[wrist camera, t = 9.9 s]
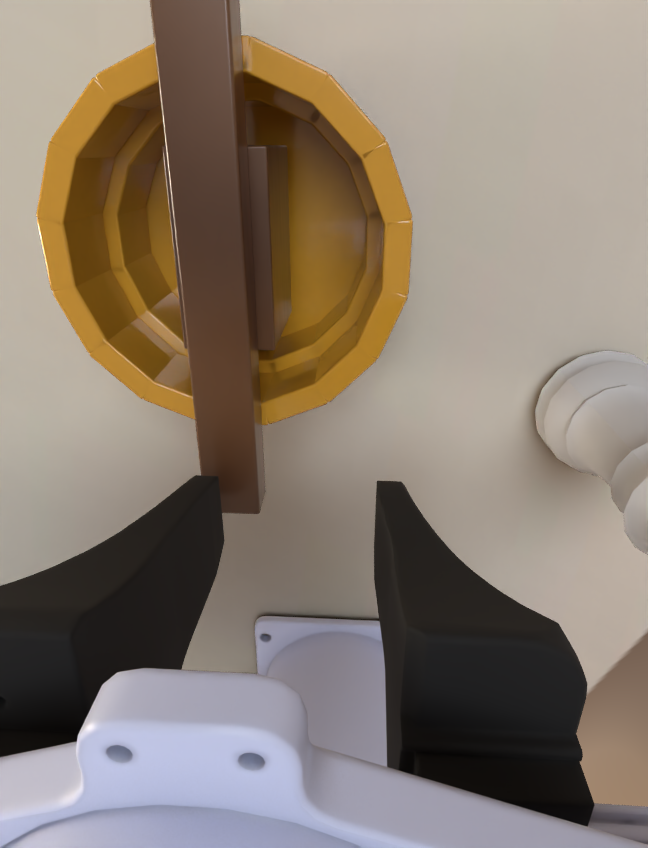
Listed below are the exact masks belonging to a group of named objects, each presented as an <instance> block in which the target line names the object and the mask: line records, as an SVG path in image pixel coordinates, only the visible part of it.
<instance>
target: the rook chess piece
mask: <svg viewBox="0 0 648 848" xmlns="http://www.w3.org/2000/svg"><path fill="white" fill-rule="evenodd" d="M535 415H536V424H537V432H538V433H539V435H540V436H541V438H542V439H543V441H544V442H545V444H546V445H547V446H548V448H549V449H551V450H552V451H553V453H554V454H555V456H556V457H557V459H559V460H561V461H562V462H564V463H566V464H567V465H569V466H571V467H573V468H574V469H576V470H578V471H579V472H582V473H589V474H591V475H595V476H600V477H601V478H602V479H603V480H604V481H605V482H606V483H607V484H608V485H610V486H611V495H612V499H613V501H614V502H615V504H616V505H617V507H618V509H619V510H620V511H621V512H623V513H624V530H625V533H626V534H627V536H628V537H629V539H630V541H631V542H632V544H633V545H634V547H635V548H637V549H639V550H640V551H642V552H644V553H646V554H647V555H648V364H647V363H645V362H644V361H642V360H641V359H639V358H638V357H636V356H634V355H633V354H630V353H623V352H616V351H609V350H605V351H601V352H596V353H592V354H587V355H582V356H580V357H578V358H576V359H575V360H573V361H572V362H570V363H568V364H567V365H565V366H563V367H562V368H560V369H558V370H557V372H556V373H555V374H554V375H553V376H552V378H551V379H550V380H549V381H548V382H547V384H546V385H545V386H544V387H543V388H542V391H541V394H540V397H539V400H538V403H537V406H536V409H535Z"/></svg>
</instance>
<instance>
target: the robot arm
mask: <svg viewBox="0 0 648 848" xmlns="http://www.w3.org/2000/svg"><path fill="white" fill-rule="evenodd" d="M223 545H224V531H223V520H222V509H221V498H220V488H219V477H218V476H197V475H195V476H194V477H193V478H191V479H190V480H189V481H187V482H186V483H185V484H183V485H182V486H181V487H180V488H178V489H177V490H176V491H175V492H174V493H172V494H171V495H170V496H169V497H167V498H166V499H165V500H163V501H162V502H161V503H160V504H158V505H157V506H156V507H154V508H153V509H152V510H150V511H149V512H148V513H146V514H145V515H143V516H142V517H141V518H139V519H138V520H136V521H135V522H133V523H132V524H131V525H129V526H128V527H126V528H125V529H123V530H122V531H120V532H119V533H117V534H116V535H114V536H112V537H111V538H109V539H107V540H106V541H104V542H102V543H100V544H98V545H97V546H95V547H93V548H91V549H89V550H88V551H86V552H84V553H82V554H79V555H77V556H75V557H73V558H71V559H69V560H67V561H64V562H62V563H60V564H58V565H56V566H54V567H51V568H49V569H46V570H44V571H41V572H39V573H36V574H34V575H31V576H28V577H26V578H23V579H20V580H17V581H14V582H11V583H8V584H5V585H2V586H0V848H648V807H645V806H629V805H612V804H595V803H594V802H593V799H592V796H591V793H590V791H589V788H588V785H587V782H586V779H585V776H584V773H583V771H582V768H581V765H580V762H579V761H581V760H582V757H583V756H582V749H581V746H580V744H579V741H578V738H577V735H576V732H577V729H578V725H579V721H580V717H581V714H582V711H583V707H584V703H585V700H586V693H587V681H586V678H585V675H584V672H583V669H582V666H581V664H580V662H579V659H578V657H577V655H576V653H575V651H574V649H573V648H572V646H571V644H570V642H569V641H568V639H567V637H566V636H565V634H564V632H563V631H562V629H561V627H560V626H559V624H558V623H557V622H555V621H553V620H551V619H549V618H547V617H545V616H543V615H541V614H539V613H537V612H535V611H533V610H531V609H529V608H527V607H525V606H523V605H521V604H520V603H518V602H516V601H515V600H513V599H512V598H510V597H508V596H507V595H505V594H503V593H502V592H500V591H499V590H498V589H496V588H495V587H493V586H492V585H490V584H489V583H488V582H486V581H485V580H484V579H482V578H481V577H480V576H478V575H477V574H476V573H475V572H473V571H472V570H471V569H470V568H469V567H467V566H466V565H465V564H464V563H463V562H462V561H461V560H460V559H459V558H458V557H457V556H456V555H455V554H454V553H453V552H452V551H451V550H450V549H449V548H448V547H447V546H446V544H445V543H444V542H443V541H442V540H441V539H440V538H439V536H438V535H437V534H436V533H435V531H434V530H433V529H432V528H431V526H430V525H429V523H428V522H427V521H426V519H425V518H424V517H423V515H422V514H421V512H420V511H419V509H418V508H417V506H416V505H415V503H414V502H413V500H412V498H411V497H410V495H409V493H408V491H407V489H406V487H405V485H404V484H403V483H402V482H395V481H377V492H376V515H375V538H374V580H375V589H376V597H377V605H378V613H379V620H380V621H370V620H348V619H325V618H302V617H279V616H261V617H259V618H258V619H257V620H256V624H255V642H256V656H257V670H258V674H256V673H236V672H215V671H195V670H181V669H182V665H183V662H184V658H185V655H186V652H187V649H188V647H189V644H190V641H191V638H192V636H193V633H194V631H195V628H196V626H197V623H198V621H199V618H200V616H201V613H202V610H203V608H204V605H205V603H206V600H207V598H208V595H209V593H210V590H211V587H212V585H213V582H214V579H215V577H216V574H217V570H218V566H219V562H220V558H221V554H222V549H223ZM264 634H269V635H268V636H267V635H264Z"/></svg>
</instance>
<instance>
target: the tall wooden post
mask: <svg viewBox="0 0 648 848" xmlns="http://www.w3.org/2000/svg"><path fill="white" fill-rule="evenodd" d="M150 7H151V16H152V25H153V35H154V44H155V53H156V62H157V72H158V81H159V90H160V99H161V109H162V118H163V127H164V136H165V145H164V146H163V147H162V150H163V159H164V168H165V177H166V186H167V195H168V204H169V213H170V222H171V232H172V241H173V250H174V259H175V268H176V277H177V286H178V295H179V304H180V313H181V322H182V331H183V340H184V347H185V349H188V358H189V367H190V377H191V386H192V395H193V404H194V414H195V423H196V432H197V441H198V451H199V460H200V469H201V476H218V477H219V488H220V498H221V509H222V513H243V514H259V513H260V510H261V506H262V503H263V499H264V496H265V492H266V490H265V471H264V452H263V434H262V415H261V396H260V378H259V359H258V350H275V348H276V346H277V344H278V341H279V339H280V337H281V335H282V332H283V330H284V328H285V325H286V323H287V321H288V318H289V316H290V314H291V273H290V235H289V197H288V160H287V146H286V145H247V134H246V115H245V96H244V78H243V59H242V40H241V22H240V3H239V0H150Z"/></svg>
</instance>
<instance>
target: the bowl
mask: <svg viewBox="0 0 648 848" xmlns="http://www.w3.org/2000/svg"><path fill="white" fill-rule="evenodd" d="M241 40H242V59H243V78H244V96H245V115H246V134H247V145H286V146H287V160H288V197H289V235H290V273H291V314H290V316H289V318H288V321H287V323H286V325H285V328H284V330H283V332H282V335H281V337H280V339H279V341H278V344H277V346H276V348H275V350H258V359H259V378H260V396H261V415H262V425H268V423H269V424H272V423H275V422H277V421H280V420H283V419H286V418H289V417H291V416H294V415H297V414H300V413H303V412H305V411H308V410H311V409H314V408H317V407H319V406H322V405H325V404H327V403H328V402H331V401H332V400H333V399H334V398H335V397H336V396H337V395H339V394H340V393H341V392H342V391H343V390H344V389H345V388H346V387H347V386H349V385H350V384H351V383H352V382H353V381H354V380H355V379H356V378H358V377H359V376H360V375H361V374H362V373H363V372H364V371H365V370H366V369H368V368H369V367H370V366H371V365H372V364H373V363H374V362H375V361H376V359H378V358H379V356H380V354H381V352H382V350H383V348H384V346H385V344H386V342H387V339H388V337H389V335H390V333H391V331H392V329H393V327H394V325H395V323H396V321H397V319H398V317H399V315H400V313H401V310H402V308H403V306H404V304H405V302H406V300H407V295H408V293H409V278H410V262H411V245H412V229H413V221H412V214H411V211H410V208H409V205H408V202H407V199H406V196H405V193H404V190H403V187H402V184H401V181H400V178H399V175H398V172H397V169H396V166H395V163H394V160H393V157H392V154H391V151H390V148H389V145H388V143H387V141H385V140H386V139H385V137H384V136H383V135H382V133H381V132H380V131H379V130H378V129H377V128H376V126H375V125H374V124H373V123H372V122H371V121H370V119H369V118H368V117H367V116H366V115H365V114H364V113H363V111H362V110H361V109H360V108H359V107H358V106H357V104H356V103H355V102H354V101H353V100H352V99H351V97H350V96H349V95H348V94H347V93H346V92H345V91H344V89H343V88H342V87H341V86H340V85H339V84H338V82H337V81H336V80H335V79H334V78H333V77H332V75H330V74H328V73H327V72H326V71H324V70H322V69H320V68H318V67H316V66H314V65H312V64H309V63H307V62H305V61H303V60H301V59H299V58H297V57H295V56H293V55H290V54H288V53H286V52H284V51H282V50H280V49H278V48H276V47H274V46H271V45H269V44H267V43H265V42H263V41H261V40H259V39H257V38H255V37H249V36H247V35H241ZM164 145H165V136H164V127H163V118H162V109H161V99H160V90H159V81H158V72H157V62H156V53H155V44H154V43H153V44H151V45H149V46H147V47H145V48H144V49H142V50H140V51H138V52H136V53H134V54H133V55H131V56H129V57H127V58H125V59H123V60H122V61H120V62H118V63H116V64H114V65H112V66H110V67H109V68H107V69H105V70H103V71H101V72H99V73H98V74H97V75H96V77H94V78H92V80H91V81H90V83H89V84H88V85H87V87H86V88H85V90H84V91H83V93H82V94H81V96H80V97H79V99H78V100H77V102H76V103H75V104H74V106H73V107H72V109H71V110H70V112H69V113H68V115H67V116H66V118H65V119H64V120H63V122H62V123H61V125H60V126H59V128H58V129H57V131H56V132H55V134H54V135H53V136H52V138H51V141H50V142H49V145H48V150H47V156H46V162H45V167H44V173H43V179H42V184H41V190H40V196H39V202H38V207H37V213H36V217H37V224H38V228H39V233H40V238H41V243H42V248H43V253H44V258H45V263H46V267H47V272H48V277H49V282H50V287H51V290H52V291H53V295H54V297H55V298H56V300H57V302H58V303H59V305H60V307H61V308H62V310H63V312H64V313H65V315H66V317H67V318H68V320H69V322H70V323H71V325H72V327H73V328H74V330H75V331H76V333H77V335H78V336H79V338H80V340H81V341H82V343H83V345H84V346H85V348H86V350H87V351H88V352H89V353H90V356H91V357H92V358H94V359H95V360H96V361H97V362H98V363H99V364H101V365H102V366H103V367H104V368H105V369H107V370H108V371H109V372H110V373H111V374H113V375H114V376H115V377H116V378H117V379H118V380H120V381H121V382H122V383H123V384H124V385H126V386H127V387H128V388H129V389H130V390H131V391H133V392H134V393H135V394H136V395H137V396H139V397H140V398H141V399H143V398H144V400H146V401H148V402H151V403H154V404H156V405H159V406H161V407H164V408H166V409H169V410H172V411H174V412H177V413H179V414H182V415H184V416H187V417H190V418H192V419H195V414H194V404H193V395H192V386H191V377H190V367H189V358H188V349H185V347H184V340H183V331H182V322H181V313H180V304H179V295H178V286H177V277H176V268H175V259H174V250H173V241H172V232H171V222H170V213H169V204H168V195H167V186H166V177H165V168H164V159H163V150H162V147H163V146H164Z"/></svg>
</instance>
